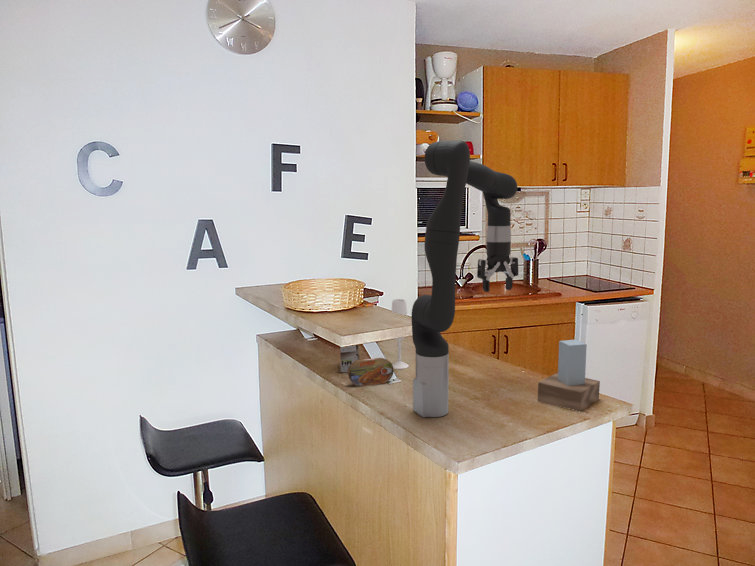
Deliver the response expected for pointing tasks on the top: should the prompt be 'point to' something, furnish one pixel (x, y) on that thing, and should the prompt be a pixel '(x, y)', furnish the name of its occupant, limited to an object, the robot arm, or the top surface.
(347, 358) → the coffee box
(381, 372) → the tin
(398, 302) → the champagne flute
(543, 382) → the walnut block
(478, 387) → the top surface
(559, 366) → the slate block
